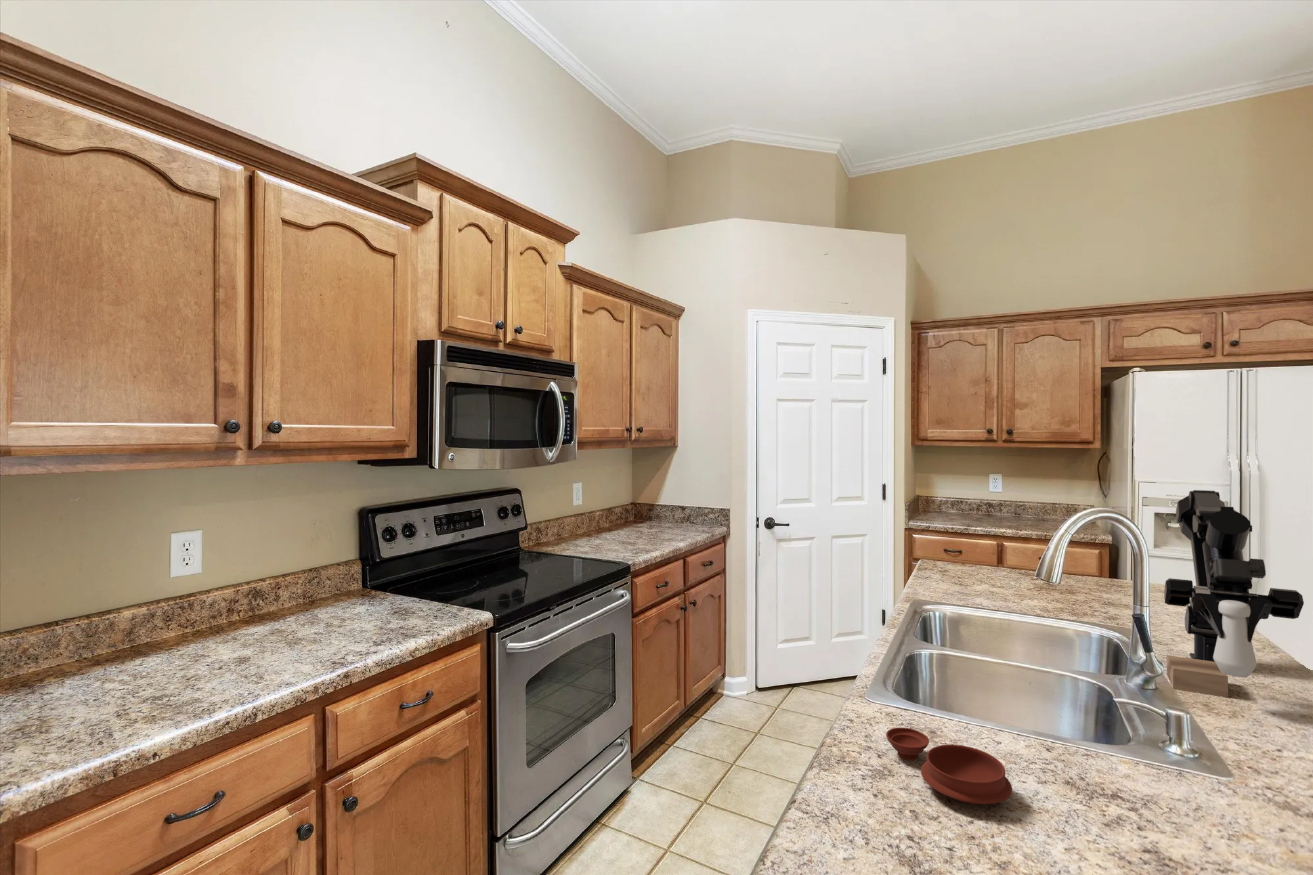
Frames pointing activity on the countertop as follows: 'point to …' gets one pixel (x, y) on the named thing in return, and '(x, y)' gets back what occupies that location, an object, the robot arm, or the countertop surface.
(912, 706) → the countertop surface
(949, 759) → the pottery
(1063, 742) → the countertop surface
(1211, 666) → the walnut plinth
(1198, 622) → the robot arm
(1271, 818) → the countertop surface
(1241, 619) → the salt shaker
